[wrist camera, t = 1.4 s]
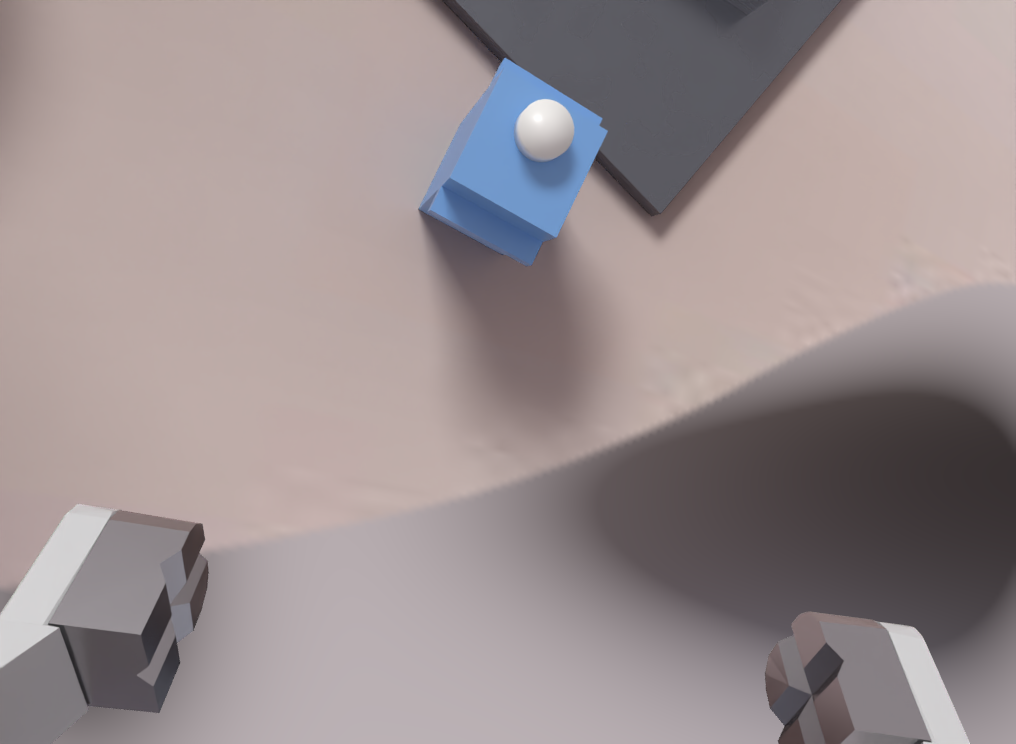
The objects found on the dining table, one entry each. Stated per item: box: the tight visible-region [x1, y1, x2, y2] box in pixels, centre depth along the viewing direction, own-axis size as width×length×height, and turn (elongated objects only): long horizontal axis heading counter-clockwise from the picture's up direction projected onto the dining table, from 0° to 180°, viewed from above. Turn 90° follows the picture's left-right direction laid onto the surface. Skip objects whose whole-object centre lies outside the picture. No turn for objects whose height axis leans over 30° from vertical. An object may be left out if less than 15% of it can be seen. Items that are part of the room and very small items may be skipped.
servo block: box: [419, 58, 608, 266], centre depth 30 cm, size 4×6×9 cm
